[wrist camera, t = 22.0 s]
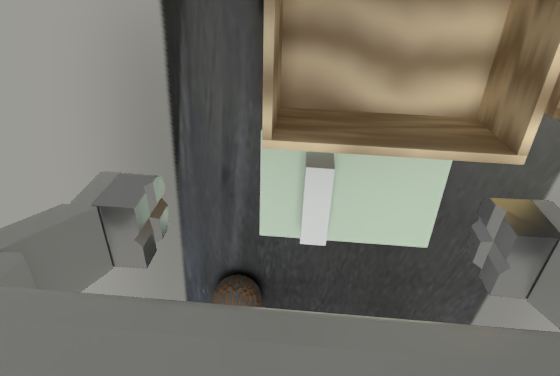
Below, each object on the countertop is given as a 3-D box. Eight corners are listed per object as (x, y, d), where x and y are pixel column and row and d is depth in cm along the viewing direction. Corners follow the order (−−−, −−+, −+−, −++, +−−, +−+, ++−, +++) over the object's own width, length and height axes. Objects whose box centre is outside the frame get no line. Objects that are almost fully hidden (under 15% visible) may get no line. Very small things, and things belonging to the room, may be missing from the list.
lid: (262, 126, 43) (256, 144, 39) (454, 138, 42) (471, 158, 38) (260, 229, 50) (255, 255, 46) (424, 241, 49) (436, 269, 45)
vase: (272, 294, 55) (266, 345, 48) (232, 307, 57) (219, 359, 49) (249, 260, 52) (238, 309, 45) (207, 275, 54) (190, 324, 47)
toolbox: (276, -38, 35) (260, -42, 24) (595, -26, 33) (727, -24, 23) (272, 111, 42) (258, 159, 31) (536, 126, 40) (616, 181, 30)
